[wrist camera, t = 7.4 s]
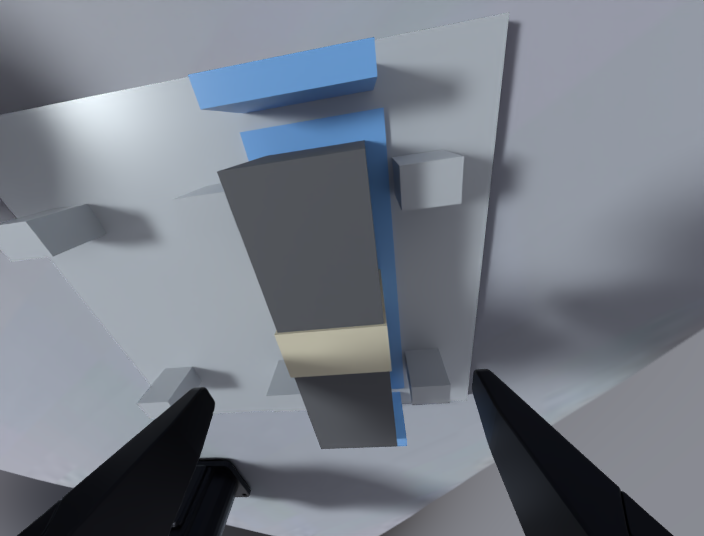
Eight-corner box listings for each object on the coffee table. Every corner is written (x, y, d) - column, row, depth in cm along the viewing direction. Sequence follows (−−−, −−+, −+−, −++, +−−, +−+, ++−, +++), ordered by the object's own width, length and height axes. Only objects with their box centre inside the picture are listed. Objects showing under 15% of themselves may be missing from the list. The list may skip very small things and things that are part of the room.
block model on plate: (464, 392, 18) (484, 448, 15) (179, 408, 21) (146, 459, 17) (500, 18, 9) (577, -41, 6) (-37, 126, 11) (-197, 126, 8)
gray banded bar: (392, 378, 17) (399, 448, 13) (328, 382, 17) (319, 451, 14) (366, 139, 10) (368, 148, 6) (263, 156, 10) (211, 172, 7)
